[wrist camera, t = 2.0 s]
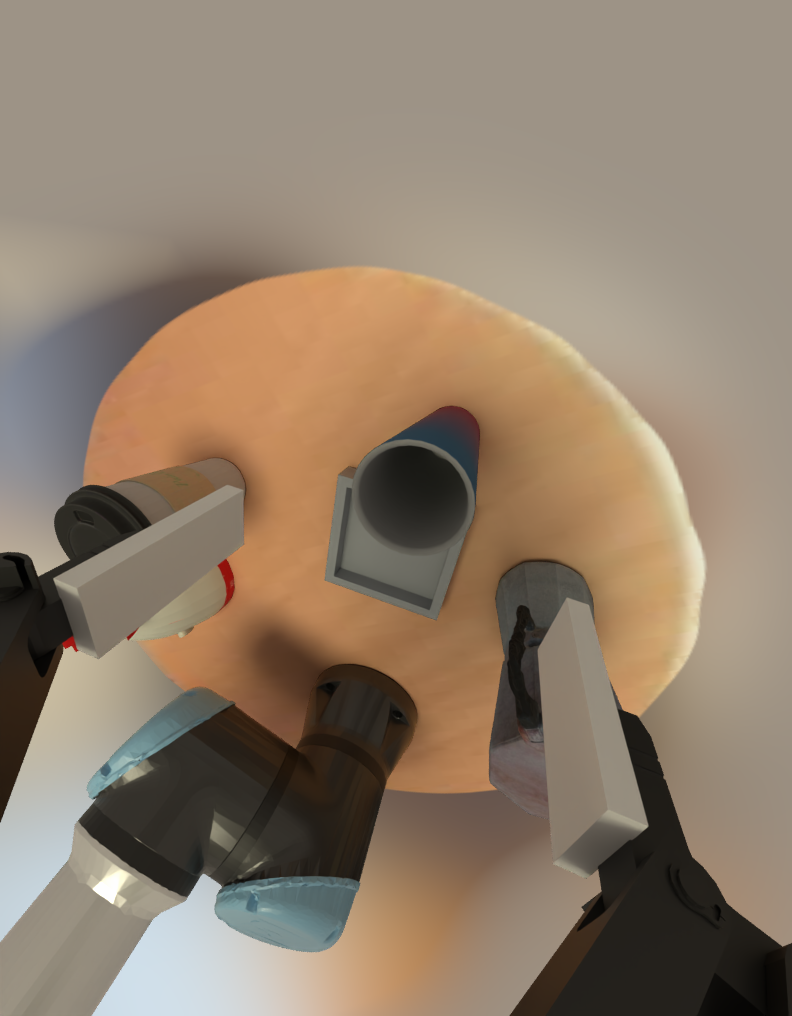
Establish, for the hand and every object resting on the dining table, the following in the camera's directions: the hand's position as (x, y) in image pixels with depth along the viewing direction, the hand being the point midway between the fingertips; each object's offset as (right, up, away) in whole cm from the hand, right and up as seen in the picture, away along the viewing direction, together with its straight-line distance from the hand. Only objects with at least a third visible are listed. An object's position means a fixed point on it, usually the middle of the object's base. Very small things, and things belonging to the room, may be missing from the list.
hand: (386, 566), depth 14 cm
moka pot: (+15, -6, +23) cm, 28 cm away
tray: (0, -1, +24) cm, 24 cm away
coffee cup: (-19, +5, +28) cm, 34 cm away
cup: (+5, +9, +18) cm, 21 cm away
